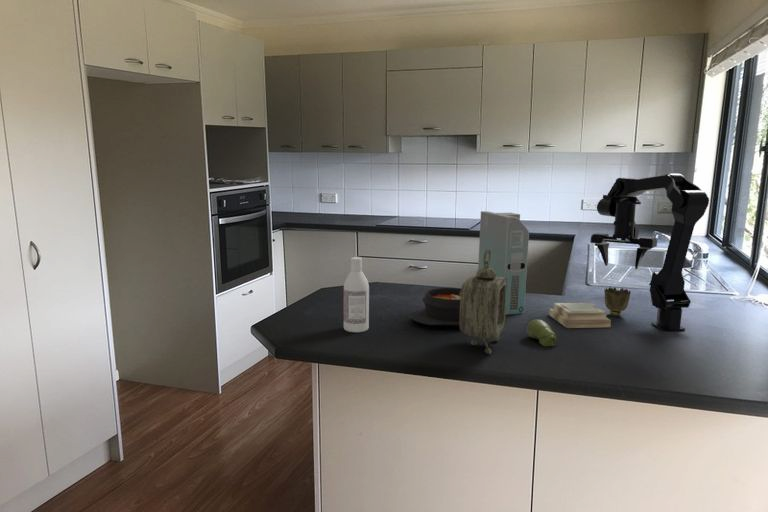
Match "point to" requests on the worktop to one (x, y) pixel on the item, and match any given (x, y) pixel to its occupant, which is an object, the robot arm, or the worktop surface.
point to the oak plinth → (579, 315)
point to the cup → (616, 300)
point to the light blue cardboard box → (506, 254)
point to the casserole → (440, 307)
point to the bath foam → (356, 299)
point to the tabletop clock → (483, 305)
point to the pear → (541, 332)
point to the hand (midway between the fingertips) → (621, 267)
